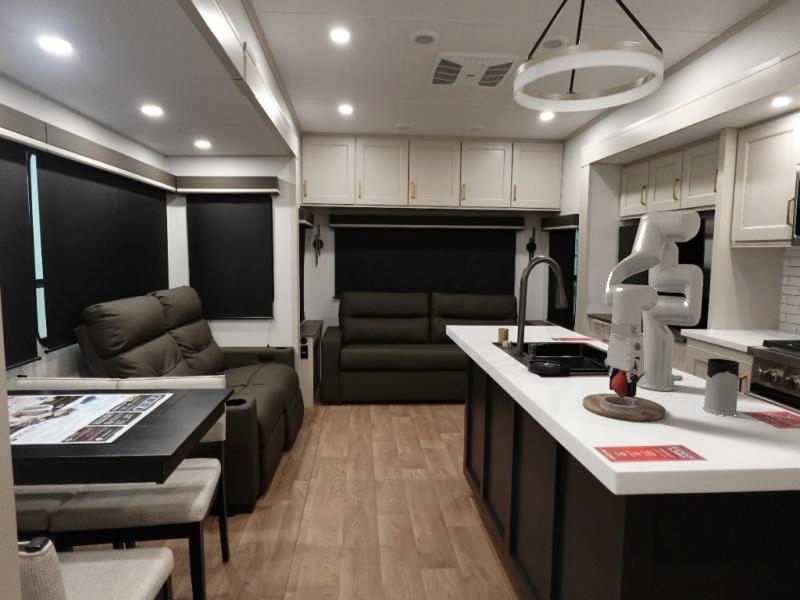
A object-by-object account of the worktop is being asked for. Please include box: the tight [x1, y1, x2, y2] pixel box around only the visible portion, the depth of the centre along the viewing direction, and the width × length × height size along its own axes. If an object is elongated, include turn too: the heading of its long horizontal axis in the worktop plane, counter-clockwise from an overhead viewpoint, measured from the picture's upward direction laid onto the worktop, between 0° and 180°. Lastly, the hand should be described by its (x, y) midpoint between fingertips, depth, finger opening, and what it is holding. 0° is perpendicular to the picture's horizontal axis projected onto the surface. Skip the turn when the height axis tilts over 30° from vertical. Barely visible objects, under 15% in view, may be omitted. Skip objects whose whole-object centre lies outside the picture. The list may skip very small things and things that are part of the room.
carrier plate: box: [582, 393, 667, 423], centre depth 142 cm, size 22×22×4 cm
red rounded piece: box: [611, 370, 628, 398], centre depth 138 cm, size 6×6×8 cm
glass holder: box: [701, 358, 740, 417], centre depth 143 cm, size 9×14×15 cm, turn 162°
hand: (622, 392), depth 138 cm, fingers closed on red rounded piece, 5 cm apart
